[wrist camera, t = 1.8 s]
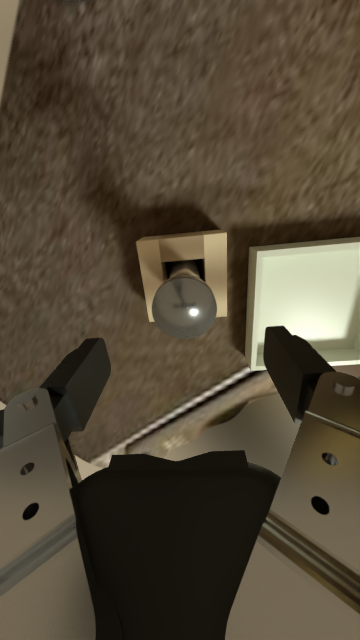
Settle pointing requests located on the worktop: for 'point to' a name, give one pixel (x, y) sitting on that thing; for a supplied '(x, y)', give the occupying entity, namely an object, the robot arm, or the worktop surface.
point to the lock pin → (184, 303)
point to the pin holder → (185, 248)
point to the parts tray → (306, 297)
